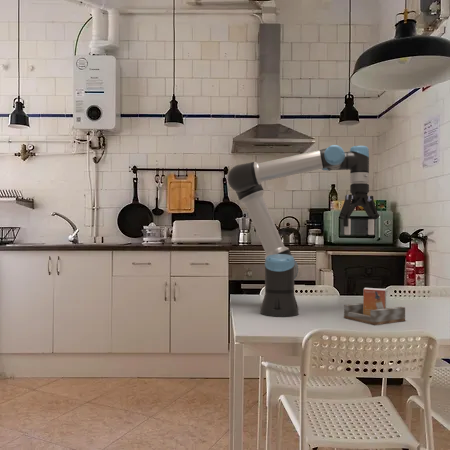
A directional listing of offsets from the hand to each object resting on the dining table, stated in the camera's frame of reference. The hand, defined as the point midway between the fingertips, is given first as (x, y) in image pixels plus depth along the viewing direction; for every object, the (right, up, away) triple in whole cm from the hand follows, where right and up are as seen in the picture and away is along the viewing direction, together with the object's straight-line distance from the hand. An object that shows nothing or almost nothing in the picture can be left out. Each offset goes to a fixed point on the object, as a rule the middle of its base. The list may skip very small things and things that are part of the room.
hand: (359, 234), depth 187 cm
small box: (+1, -31, -17) cm, 35 cm away
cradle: (0, -32, -17) cm, 36 cm away
